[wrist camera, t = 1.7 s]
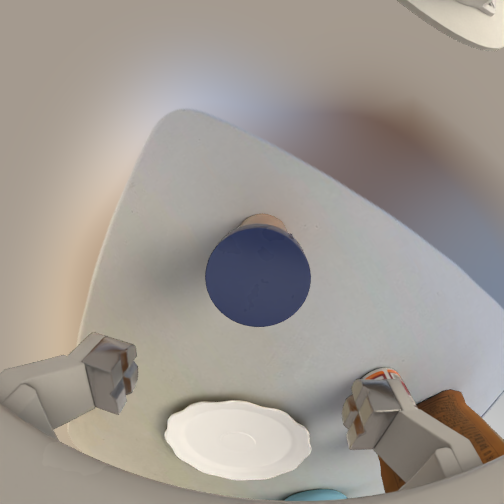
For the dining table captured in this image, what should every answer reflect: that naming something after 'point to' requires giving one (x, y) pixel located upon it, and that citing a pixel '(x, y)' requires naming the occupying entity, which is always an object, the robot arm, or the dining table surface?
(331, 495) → the teapot
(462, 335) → the dining table surface
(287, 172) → the dining table surface
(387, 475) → the pancake mix bag
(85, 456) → the robot arm
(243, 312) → the jar lid
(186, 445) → the plate
